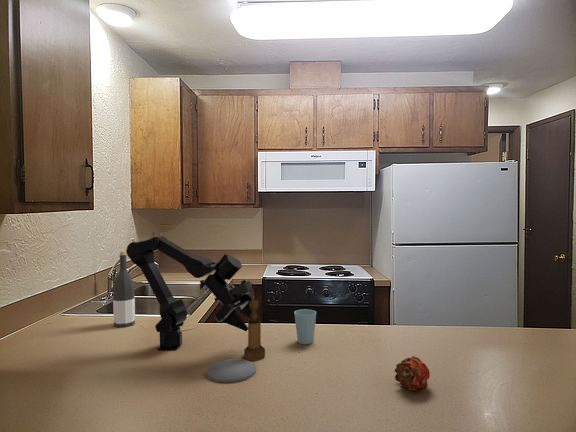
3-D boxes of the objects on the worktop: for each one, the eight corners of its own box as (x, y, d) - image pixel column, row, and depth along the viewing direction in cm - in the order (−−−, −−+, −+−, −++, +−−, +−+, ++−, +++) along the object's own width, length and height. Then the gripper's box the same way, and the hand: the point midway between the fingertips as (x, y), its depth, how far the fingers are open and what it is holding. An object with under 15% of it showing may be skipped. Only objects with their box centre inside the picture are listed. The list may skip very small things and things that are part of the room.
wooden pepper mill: (261, 361, 122) (260, 302, 121) (241, 359, 123) (240, 302, 123) (267, 353, 128) (266, 297, 128) (247, 352, 130) (247, 297, 129)
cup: (320, 343, 137) (320, 313, 136) (300, 346, 134) (300, 316, 133) (310, 337, 144) (310, 308, 143) (291, 340, 141) (290, 310, 140)
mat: (200, 382, 107) (200, 378, 107) (213, 362, 121) (213, 358, 121) (252, 383, 107) (252, 379, 106) (258, 362, 120) (258, 359, 120)
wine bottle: (109, 326, 159) (107, 252, 158) (123, 321, 167) (121, 250, 166) (126, 328, 157) (124, 252, 156) (139, 322, 164) (137, 250, 164)
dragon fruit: (408, 404, 97) (409, 390, 108) (438, 387, 95) (436, 374, 107) (387, 373, 99) (390, 362, 111) (416, 355, 98) (416, 346, 109)
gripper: (223, 277, 118) (258, 316, 115) (248, 268, 136) (279, 302, 132) (200, 302, 121) (234, 341, 117) (228, 290, 138) (258, 323, 135)
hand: (253, 325), depth 125 cm, fingers open, 9 cm apart
